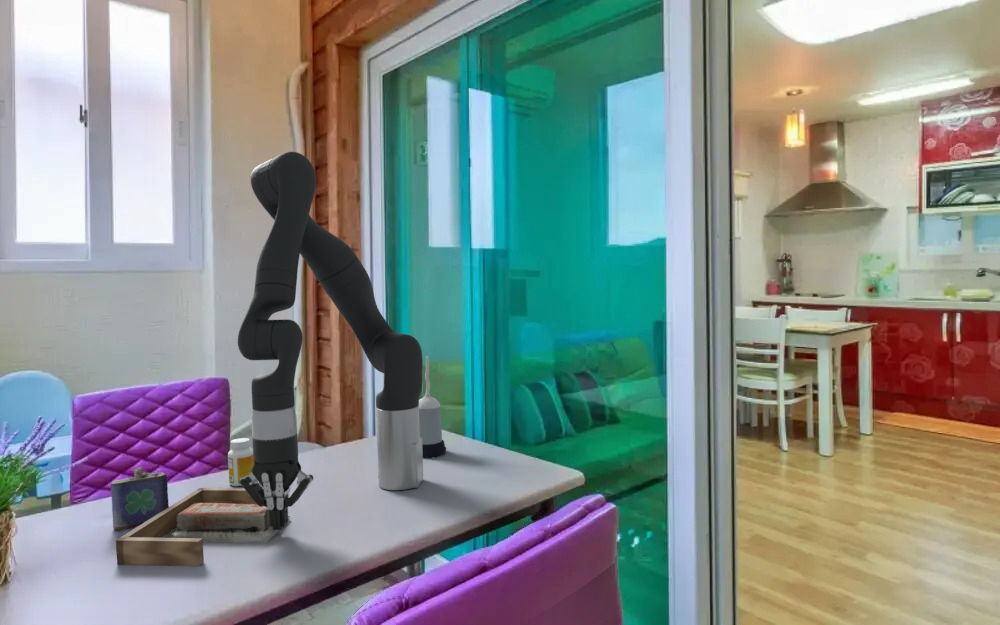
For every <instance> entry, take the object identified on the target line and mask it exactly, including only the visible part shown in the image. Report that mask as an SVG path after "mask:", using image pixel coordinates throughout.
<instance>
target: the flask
mask: <svg viewBox="0 0 1000 625" xmlns="http://www.w3.org/2000/svg"><path fill="white" fill-rule="evenodd" d="M142 469H143V467H142V466H138V467H136V468H134V470H133V473H134V474H133V475H134V476H133V477H126V478H123V479H122V478H121V479H117V480H113V481H112V482H110V492H111V493H110V494H111V509H112V510H111V512H112V527H113V530H114V531H119V530H120V531H124V530H128V529H131V528H133V529H135V528H136V527H138V526H139V525H141V524H143V523H144V522H146V521H147V520H149V519H151V518H152V517H154V516H156V515H157V514H159V513H160V512H162V511H164V510H165V509H167V508H168V507H170V506H169V493H168V490H169V488H168V487H169V486H168V476H167V474H166V473H164V472H157V471H152V472H145V471H143V470H142Z"/></svg>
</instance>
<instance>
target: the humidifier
mask: <svg viewBox="0 0 1000 625" xmlns="http://www.w3.org/2000/svg"><path fill="white" fill-rule="evenodd" d="M423 372H424V371H423V370H422V377H423V376H424V378H425V384H426V386H425V387H426V389H425V394H424V389H423V386H424V385H423V383H422V391H421V393H422V394H424V395H423V396H422V398H419V428H420V437H421V438H422V451H423V459H433V458H432V457H435V458H439V457H442V456H444V455H445V454H446V451H447V447H446V444H445V441H444V440H443V439H442V438H443V433H442V429H443V428H442V427H443V426H442V407H441V405H442V404H441V403H440V402H439V401H438V399H436V398H435V397H432V396H431V393H430V390H431V382H430V378H429V375H430V356H429V355H428V356H427V355H426V356H425V374H423ZM443 454H444V455H443ZM441 455H442V456H441ZM438 456H439V457H438Z"/></svg>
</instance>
